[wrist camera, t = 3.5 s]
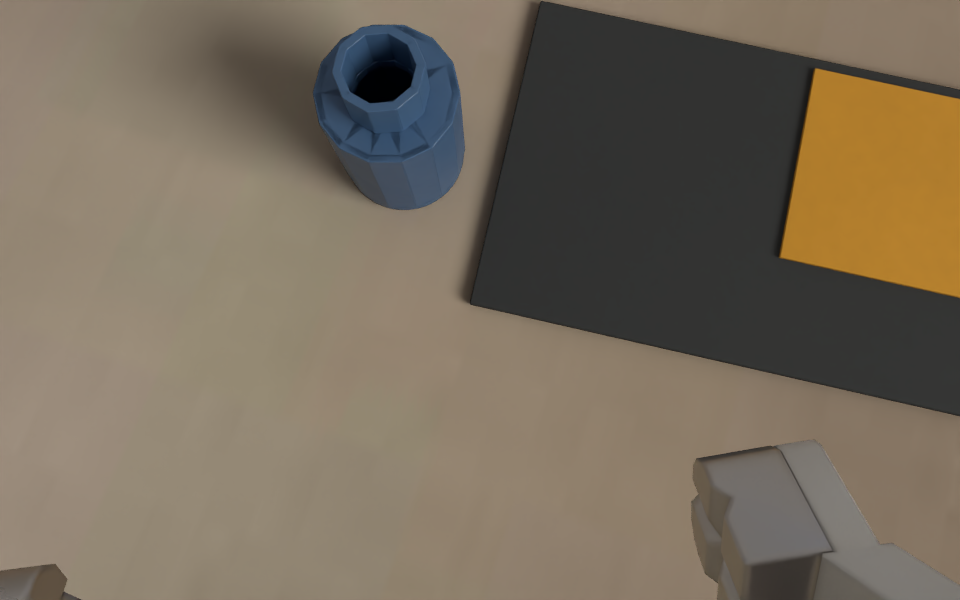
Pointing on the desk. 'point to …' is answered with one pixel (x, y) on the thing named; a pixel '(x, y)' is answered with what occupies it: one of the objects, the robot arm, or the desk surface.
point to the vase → (393, 114)
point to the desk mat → (732, 207)
